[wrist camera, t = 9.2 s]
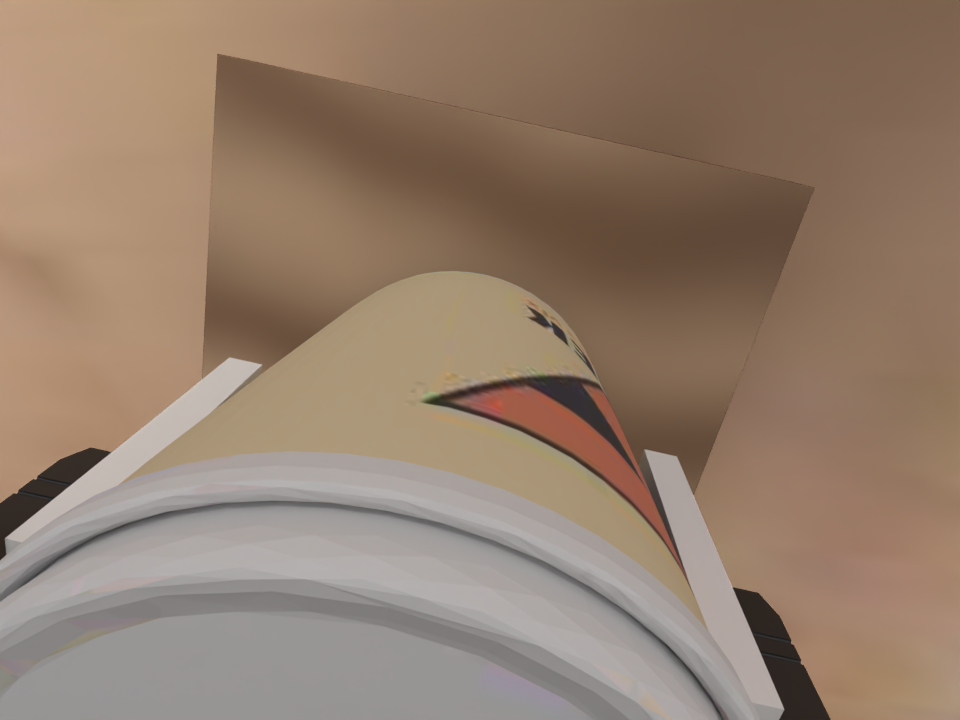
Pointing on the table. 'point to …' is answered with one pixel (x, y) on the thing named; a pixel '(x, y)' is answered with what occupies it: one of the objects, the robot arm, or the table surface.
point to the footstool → (491, 237)
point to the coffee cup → (376, 544)
